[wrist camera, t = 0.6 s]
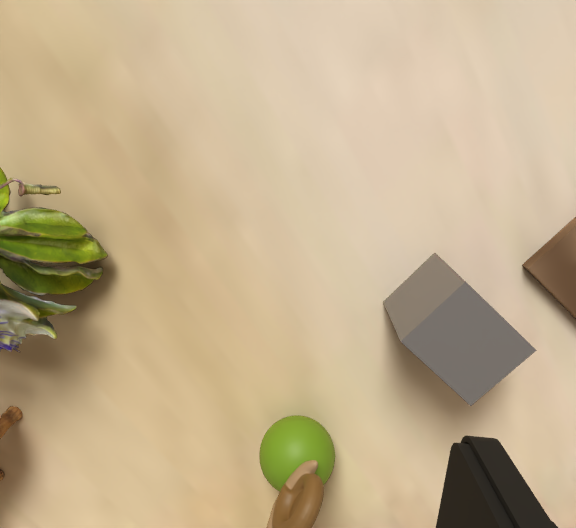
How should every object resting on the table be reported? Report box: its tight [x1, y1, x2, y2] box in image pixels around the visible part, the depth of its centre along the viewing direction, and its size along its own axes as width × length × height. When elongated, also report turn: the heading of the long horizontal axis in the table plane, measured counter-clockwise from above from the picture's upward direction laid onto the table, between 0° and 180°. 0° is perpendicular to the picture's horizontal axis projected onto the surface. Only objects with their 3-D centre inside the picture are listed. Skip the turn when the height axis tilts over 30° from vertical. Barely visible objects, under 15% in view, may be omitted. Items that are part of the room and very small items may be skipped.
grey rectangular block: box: [383, 253, 536, 406], centre depth 32 cm, size 5×7×7 cm
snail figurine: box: [260, 416, 335, 528], centre depth 33 cm, size 5×6×12 cm
